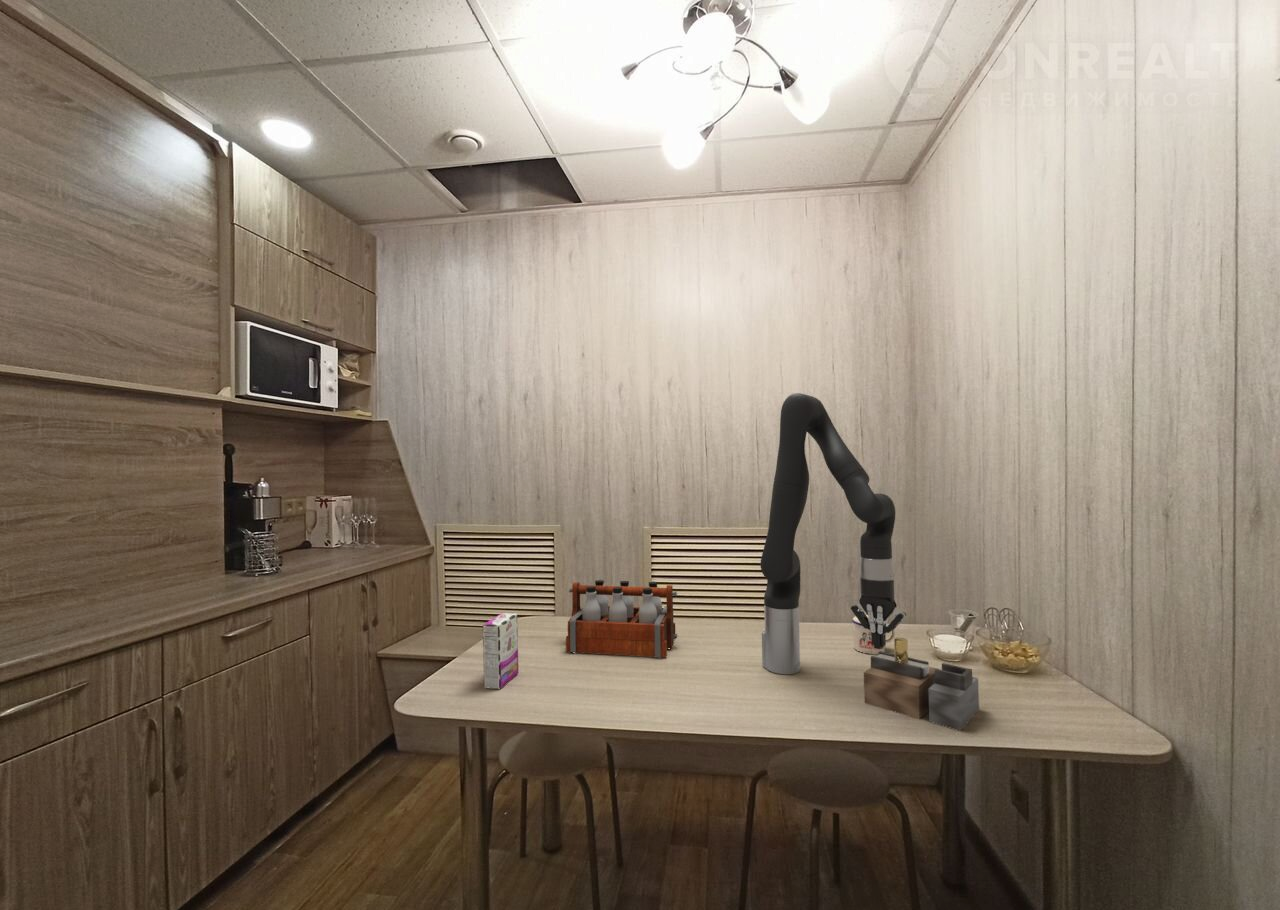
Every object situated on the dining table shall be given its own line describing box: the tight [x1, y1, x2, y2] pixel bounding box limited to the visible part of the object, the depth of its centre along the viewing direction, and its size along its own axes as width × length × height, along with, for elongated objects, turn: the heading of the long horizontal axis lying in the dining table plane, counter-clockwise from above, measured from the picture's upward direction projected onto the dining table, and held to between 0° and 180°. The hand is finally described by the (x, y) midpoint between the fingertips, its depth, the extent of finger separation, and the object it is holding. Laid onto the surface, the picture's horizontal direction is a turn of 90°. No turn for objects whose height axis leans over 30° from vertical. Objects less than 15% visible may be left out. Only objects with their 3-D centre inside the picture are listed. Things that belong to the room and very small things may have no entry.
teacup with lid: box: [851, 611, 896, 655], centre depth 162 cm, size 12×9×12 cm
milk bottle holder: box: [565, 579, 678, 659], centre depth 170 cm, size 21×35×19 cm, turn 78°
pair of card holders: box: [863, 651, 980, 732], centre depth 124 cm, size 20×14×10 cm
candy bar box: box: [482, 612, 519, 689], centre depth 142 cm, size 11×5×16 cm, turn 168°
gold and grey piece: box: [875, 637, 930, 677], centre depth 127 cm, size 11×3×7 cm, turn 45°
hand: (879, 647), depth 131 cm, fingers closed
